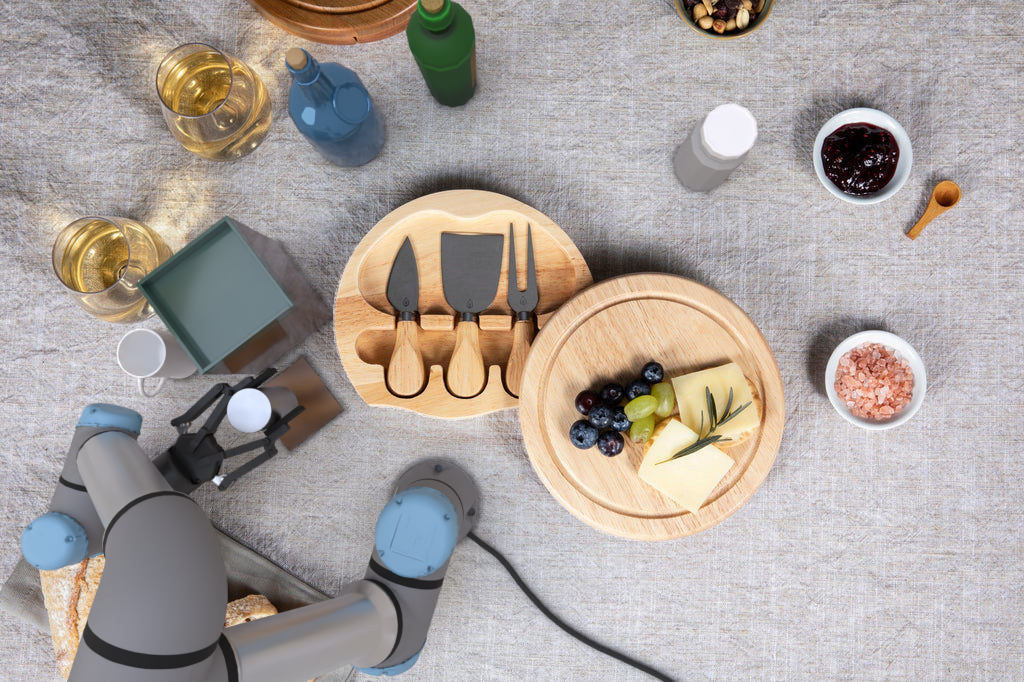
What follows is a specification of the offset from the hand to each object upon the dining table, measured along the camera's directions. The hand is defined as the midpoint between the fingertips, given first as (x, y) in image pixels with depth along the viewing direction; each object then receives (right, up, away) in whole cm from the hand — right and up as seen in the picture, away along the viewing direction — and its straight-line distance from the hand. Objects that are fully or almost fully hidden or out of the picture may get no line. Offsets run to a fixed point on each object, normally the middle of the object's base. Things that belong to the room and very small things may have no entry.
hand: (287, 388), depth 102 cm
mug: (-26, +3, +17) cm, 31 cm away
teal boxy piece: (-9, +13, +17) cm, 24 cm away
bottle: (+24, +54, +19) cm, 62 cm away
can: (-4, -3, +7) cm, 9 cm away
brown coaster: (-4, -4, +16) cm, 17 cm away
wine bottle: (+6, +45, +18) cm, 49 cm away
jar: (+68, +39, +17) cm, 80 cm away
